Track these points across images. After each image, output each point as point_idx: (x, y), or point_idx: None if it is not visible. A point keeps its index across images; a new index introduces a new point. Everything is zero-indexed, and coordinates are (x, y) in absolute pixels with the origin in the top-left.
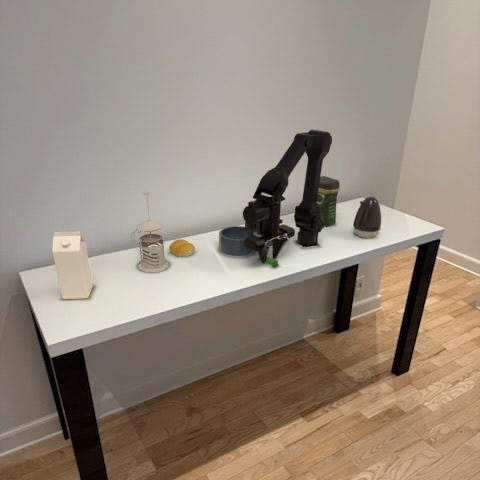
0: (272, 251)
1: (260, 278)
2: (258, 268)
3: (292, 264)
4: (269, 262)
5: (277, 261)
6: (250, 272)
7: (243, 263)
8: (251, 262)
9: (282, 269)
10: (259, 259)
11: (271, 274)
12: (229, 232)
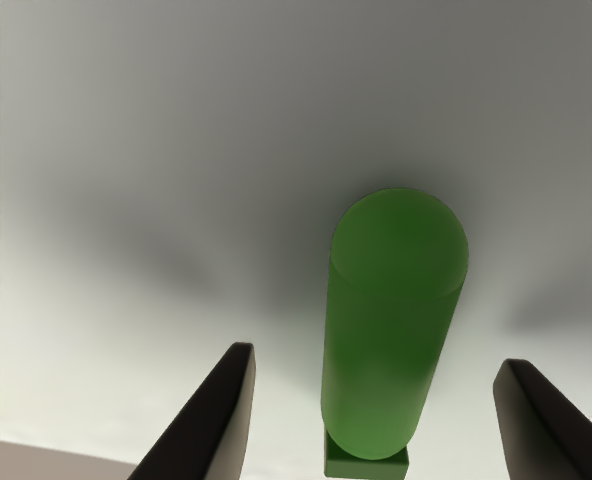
0: (571, 472)
1: (55, 420)
2: (162, 314)
3: None
4: (322, 405)
5: (390, 475)
6: (8, 312)
7: (23, 42)
8: (195, 126)
9: None
10: (343, 216)
11: None
12: None
